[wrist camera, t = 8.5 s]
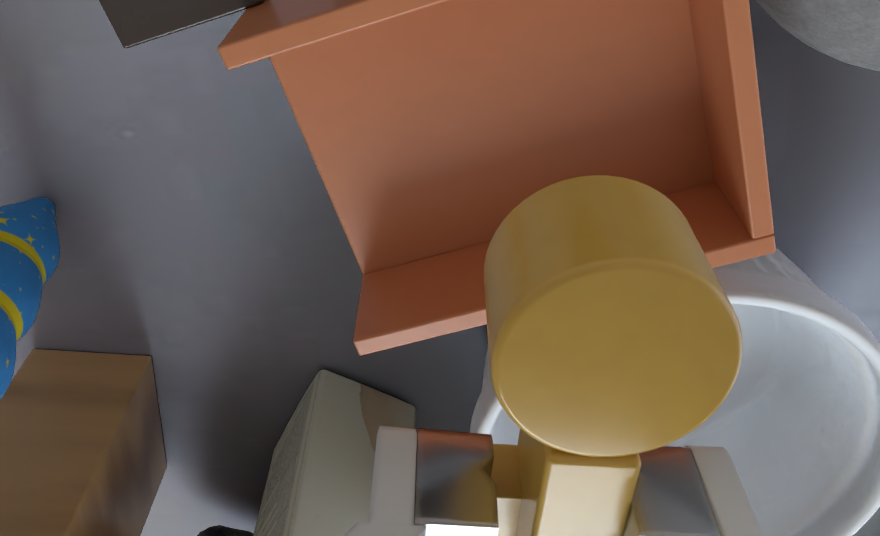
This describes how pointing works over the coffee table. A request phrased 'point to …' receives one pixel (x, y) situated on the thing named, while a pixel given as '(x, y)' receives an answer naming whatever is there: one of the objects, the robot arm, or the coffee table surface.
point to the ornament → (23, 272)
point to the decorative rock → (224, 532)
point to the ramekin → (784, 404)
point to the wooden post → (79, 445)
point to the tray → (497, 124)
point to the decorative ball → (833, 27)
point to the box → (327, 459)
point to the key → (598, 349)
